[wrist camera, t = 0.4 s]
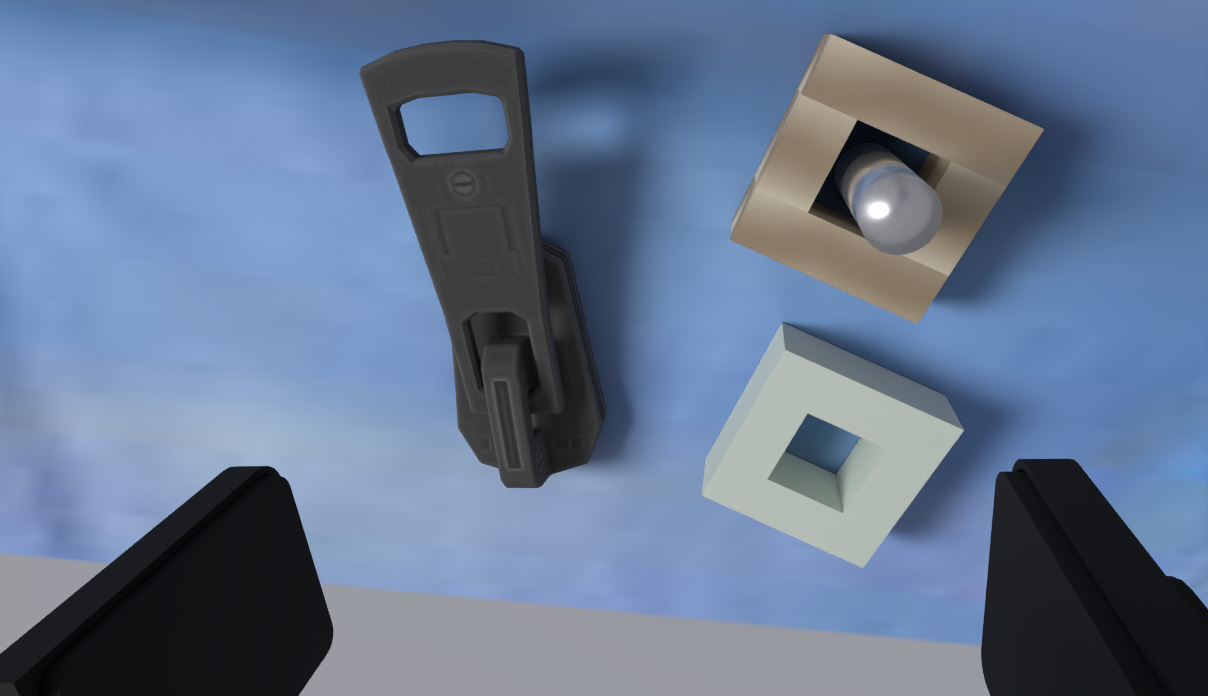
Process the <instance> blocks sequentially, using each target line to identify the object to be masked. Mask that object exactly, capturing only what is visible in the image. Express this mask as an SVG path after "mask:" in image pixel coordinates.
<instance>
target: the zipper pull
mask: <svg viewBox="0 0 1208 696" xmlns="http://www.w3.org/2000/svg"><path fill="white" fill-rule="evenodd" d="M359 74H360V77H361V80H362V83H363V86H364V89H365V92H366V94H367V97H368V100H369V103H370V106H371V109H372V112H373V115H374V118H375V120H376V123H377V126H378V129H379V132H380V135H381V138H382V141H383V144H384V146H385V149H386V152H387V154H388V157H389V160H390V162H391V165H392V167H393V170H394V173H395V176H396V179H397V181H398V184H399V187H400V190H401V193H402V196H403V199H404V201H405V204H406V207H407V210H408V213H409V216H410V219H411V221H412V224H413V227H414V230H415V233H416V236H417V239H418V241H419V244H420V247H421V250H422V253H423V256H424V259H425V261H426V264H427V267H428V270H429V273H430V276H431V279H432V281H433V284H434V287H435V290H436V293H437V296H438V299H439V301H440V304H441V307H442V310H443V313H444V316H445V320H446V323H447V327H448V331H449V334H450V338H451V341H452V350H453V362H454V374H455V387H456V403H457V418H458V428H459V430H460V432H461V433H462V435H463V436H464V438H465V440H466V441H467V443H468V444H469V446H470V447H471V449H472V450H473V452H474V453H475V455H476V457H477V458H478V460H479V461H480V462H481V463H483V464H486V465H489V466H493V467H496V468H499V472H500V477H501V481H502V482H503V484H504V485H505V486H506V487H507V488H538V487H540V486H542V485H543V484H544V482H545V481H546V480H547V478H548V477H549V476H550V475H552V474H554V473H558V472H561V471H564V470H567V469H570V468H574V467H577V466H580V465H583V464H586V463H588V462H589V460H590V457H591V454H592V452H593V449H594V446H595V444H596V441H597V438H598V435H599V432H600V429H601V426H602V423H603V420H604V418H605V415H606V406H605V402H604V398H603V394H602V390H601V386H600V382H599V378H598V374H597V370H596V366H595V362H594V358H593V354H592V349H591V345H590V341H589V336H588V332H587V328H586V323H585V319H584V315H583V311H582V306H581V302H580V298H579V293H578V289H577V285H576V280H575V276H574V272H573V268H572V264H571V261H570V257H569V254H568V252H566V251H565V250H562V249H560V248H558V247H556V246H554V245H552V244H550V243H548V242H546V241H544V240H542V237H541V227H540V216H539V206H538V196H537V186H536V175H535V165H534V155H533V139H532V126H531V116H530V107H529V97H528V87H527V77H526V67H525V57H524V52H523V51H522V50H521V49H520V48H519V47H515V46H510V45H504V44H499V43H494V42H489V41H484V40H453V41H443V42H435V43H427V44H421V45H417V46H413V47H408V48H404V49H400V50H396V51H394V52H392V53H390V54H387V55H385V56H383V57H381V58H379V59H377V60H375V61H373V62H371V63H369V64H367V65H365V66H363V67H361V69H360V73H359ZM464 93H478V94H484V95H490V96H496V97H498V98H499V99H500V100H501V101H502V103H503V108H504V114H505V119H506V124H507V130H508V135H509V139H508V141H507V144H506V146H505V148H499V149H488V150H476V151H464V152H453V153H441V154H429V155H419V154H418V153H417V152H416V151H415V150H414V149H413V148H412V147H411V146H410V145H409V143H408V139H407V135H406V131H405V128H404V124H403V120H402V116H401V112H400V108H401V105H402V104H405V103H407V102H410V101H412V100H415V99H417V98H425V97H435V96H444V95H454V94H464Z"/></svg>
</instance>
